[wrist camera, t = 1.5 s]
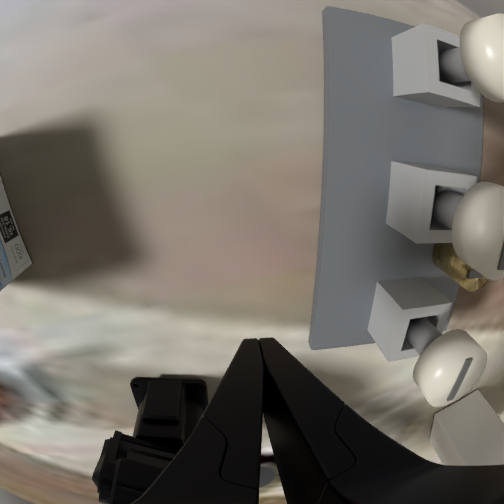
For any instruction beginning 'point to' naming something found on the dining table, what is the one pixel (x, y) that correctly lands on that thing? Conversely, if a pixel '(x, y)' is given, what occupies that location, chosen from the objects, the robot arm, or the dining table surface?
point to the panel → (388, 180)
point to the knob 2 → (444, 362)
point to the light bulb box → (10, 244)
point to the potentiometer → (456, 267)
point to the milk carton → (468, 433)
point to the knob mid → (475, 226)
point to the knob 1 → (478, 57)
